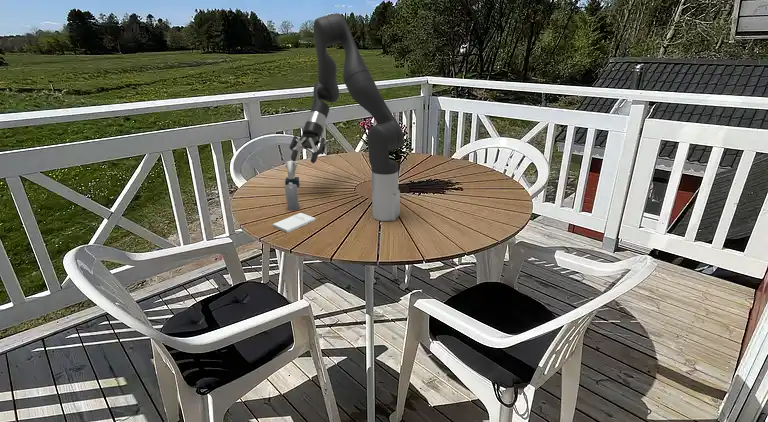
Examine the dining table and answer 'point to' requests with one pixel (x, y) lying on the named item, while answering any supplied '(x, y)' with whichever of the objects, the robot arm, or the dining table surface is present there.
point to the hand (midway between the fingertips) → (302, 161)
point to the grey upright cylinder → (292, 196)
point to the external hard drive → (293, 222)
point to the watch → (291, 173)
